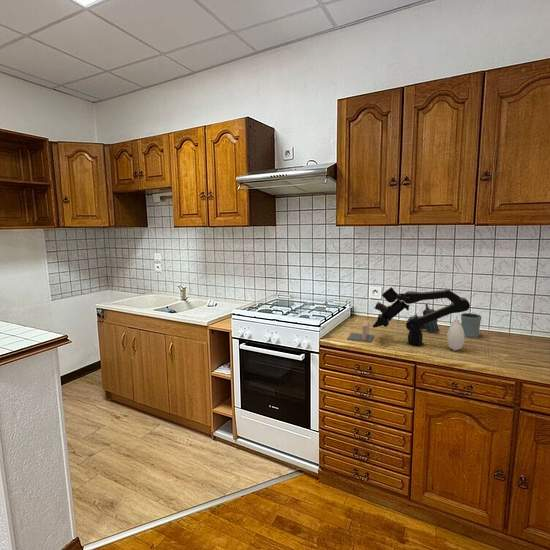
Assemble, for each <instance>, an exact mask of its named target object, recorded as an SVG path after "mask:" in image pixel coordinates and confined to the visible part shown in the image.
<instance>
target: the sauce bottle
mask: <svg viewBox="0 0 550 550" xmlns="http://www.w3.org/2000/svg"><path fill="white" fill-rule="evenodd" d="M455 317H456V318H455V319H453V322H452V323H451V324H450V326H448V327H449V328H448V329H447V335H446V342H447V345H448V347H449V348H450V349H451V350H452V351H458V350H460V349H462V348H463V346H464V343H465V337H464V330H463V327H462V325H461V322H460V321H461V320H459V319H458V315H456V316H455Z"/></svg>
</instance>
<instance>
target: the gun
mask: <svg viewBox="0 0 550 550" xmlns="http://www.w3.org/2000/svg"><path fill="white" fill-rule="evenodd" d="M424 305H425V309H423V311H422V316H423V315H426V314H428V313H431V312H433V311H436V309H434V308H430V307H429V304H428V303H425V304H424ZM422 330H426V331H427V332H428V333H438V332H440V331H441V329H439V326H438V319H436V320H433V321H431V322H428V323H426V324H424V325H423V326H422Z"/></svg>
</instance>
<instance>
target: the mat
mask: <svg viewBox="0 0 550 550" xmlns="http://www.w3.org/2000/svg"><path fill="white" fill-rule="evenodd" d="M374 338H375V335H374V334H369V336H368V338H367V340H362V333H357V332H356V333H355V332H351V333H350V334H349V336H348V337H347V341H352V342H353V341H355V342H363V343H370V344H371V343H372V342H373V339H374Z"/></svg>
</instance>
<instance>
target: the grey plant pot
mask: <svg viewBox="0 0 550 550" xmlns="http://www.w3.org/2000/svg"><path fill="white" fill-rule="evenodd" d="M460 318H461V319H460V321H461V322H460V324H461V325H462V327H463V330H464V338H469V339H478V338H479V335H480V330H481V329H480V328H481V320H482V315H481V314H477V313H473V312H472V313H471V312H465V313H464V312H462V313H461V315H460Z"/></svg>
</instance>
